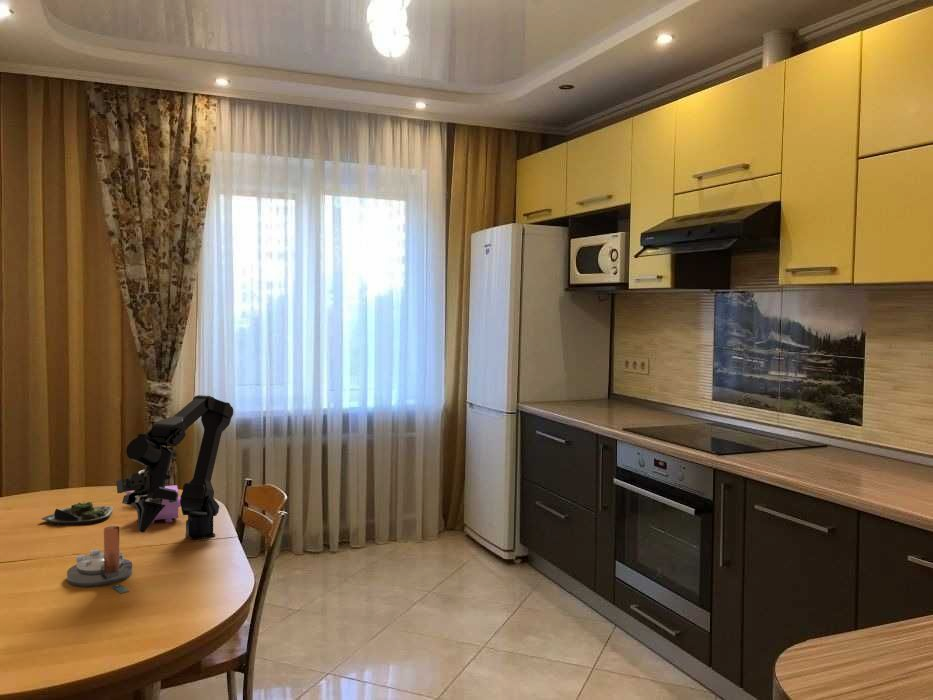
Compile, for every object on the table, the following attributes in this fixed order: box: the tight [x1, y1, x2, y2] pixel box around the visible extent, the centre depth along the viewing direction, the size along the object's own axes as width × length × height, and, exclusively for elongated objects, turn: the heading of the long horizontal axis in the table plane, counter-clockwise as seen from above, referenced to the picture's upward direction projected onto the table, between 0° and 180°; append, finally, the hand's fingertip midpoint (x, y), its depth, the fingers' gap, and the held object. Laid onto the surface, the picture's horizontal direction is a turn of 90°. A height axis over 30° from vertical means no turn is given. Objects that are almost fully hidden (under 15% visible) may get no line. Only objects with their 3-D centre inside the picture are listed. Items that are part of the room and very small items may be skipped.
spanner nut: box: [75, 525, 125, 578], centre depth 169 cm, size 16×10×12 cm, turn 42°
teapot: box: [124, 484, 181, 525], centre depth 217 cm, size 15×13×11 cm
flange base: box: [66, 558, 133, 594], centre depth 169 cm, size 14×21×2 cm, turn 39°
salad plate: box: [41, 501, 114, 526], centre depth 218 cm, size 19×18×5 cm
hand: (141, 532), depth 175 cm, fingers closed
